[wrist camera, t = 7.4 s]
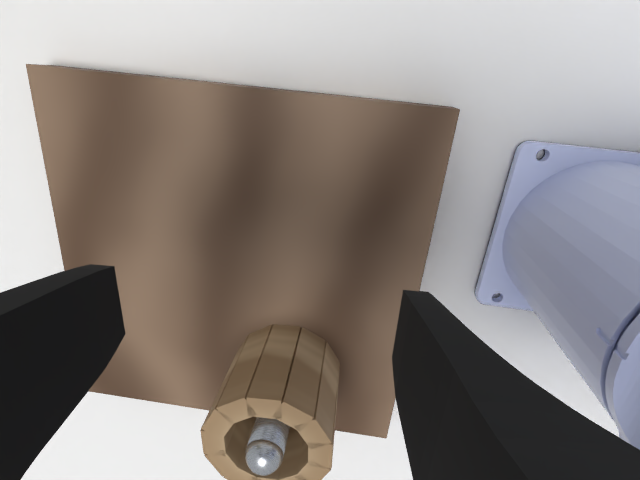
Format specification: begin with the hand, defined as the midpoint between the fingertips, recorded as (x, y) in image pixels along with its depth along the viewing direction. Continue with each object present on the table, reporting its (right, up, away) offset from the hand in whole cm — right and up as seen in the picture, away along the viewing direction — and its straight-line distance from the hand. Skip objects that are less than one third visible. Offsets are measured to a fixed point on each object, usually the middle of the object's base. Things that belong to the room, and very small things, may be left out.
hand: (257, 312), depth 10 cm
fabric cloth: (-2, 0, +11) cm, 11 cm away
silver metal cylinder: (0, -5, +11) cm, 12 cm away
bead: (0, -5, +11) cm, 12 cm away
